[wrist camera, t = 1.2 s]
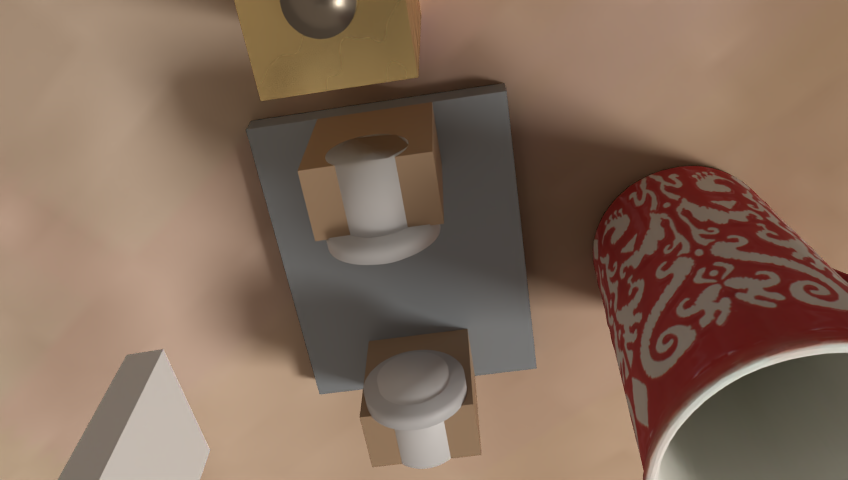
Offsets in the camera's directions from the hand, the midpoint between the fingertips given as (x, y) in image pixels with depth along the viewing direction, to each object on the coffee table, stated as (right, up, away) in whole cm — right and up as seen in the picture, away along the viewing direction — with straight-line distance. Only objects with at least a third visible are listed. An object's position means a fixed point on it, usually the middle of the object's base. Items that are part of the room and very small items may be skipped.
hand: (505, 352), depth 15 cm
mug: (+11, +2, +18) cm, 21 cm away
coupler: (-4, +12, +13) cm, 18 cm away
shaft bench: (-2, +2, +18) cm, 18 cm away
